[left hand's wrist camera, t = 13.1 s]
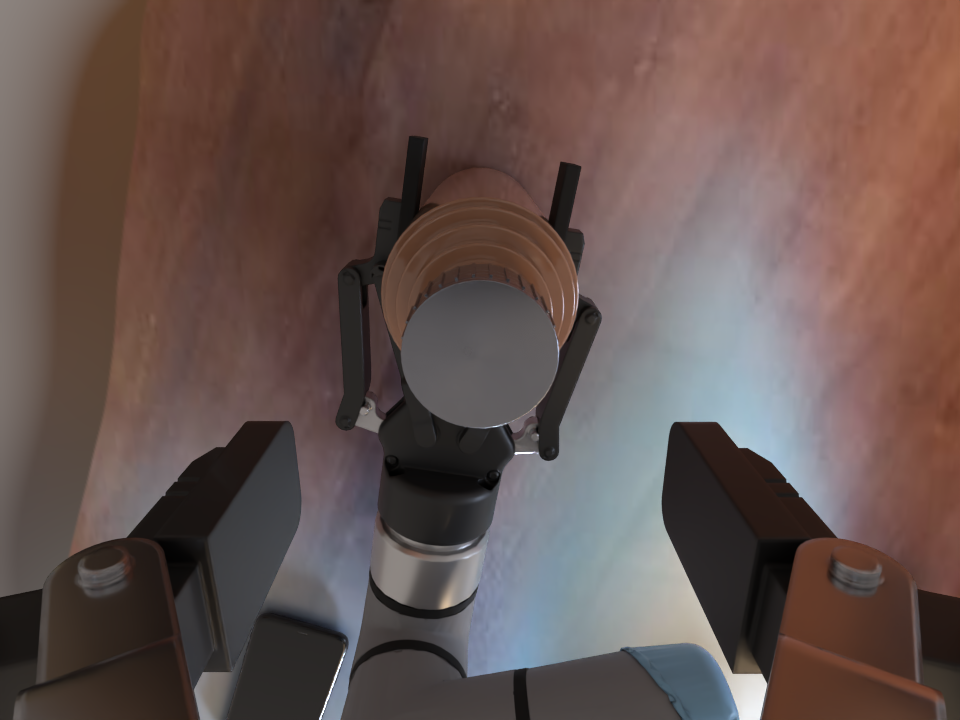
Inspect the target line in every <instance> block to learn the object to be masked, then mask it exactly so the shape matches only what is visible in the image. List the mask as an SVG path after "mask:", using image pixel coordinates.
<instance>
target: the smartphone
mask: <svg viewBox="0 0 960 720" xmlns="http://www.w3.org/2000/svg"><path fill="white" fill-rule="evenodd" d="M250 637H251V638H250V641H249V643H248V646H247V650H246V654H245V656H244V660H243V665H242V668H241V672H240V675H239V678H238V682H237V685H236V689H235V692H234V695H233V699H232V702H231V706H230V709H229V712H228V716H227V719H226V720H322V717H323V714H324V711H325V709H326V706H327V703H328V701H329V698H330V695H331V692H332V690H333V687H334V684H335V683H336V680H337V677H338V675H339V672H340V668H341V665H342V663H343V660H344V657H345V654H346V652H347V649H348V645H349V642H348V638H347V637H346V636H345V635H344V634H343V633H340V632H337V631H334V630H330V629H327V628H323V627H320V626H316V625H312V624H309V623H305V622H301V621H298V620H294V619H290V618H287V617H283V616H279V615H276V614H272V613H264V614H262V615H260V616H259V617H258V618H257V619H256V621H255V624H254V627H253V631H252V633H251V636H250Z"/></svg>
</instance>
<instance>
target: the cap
mask: <svg viewBox="0 0 960 720" xmlns="http://www.w3.org/2000/svg"><path fill="white" fill-rule="evenodd" d="M405 323H406V326H405V329H404V331H403V334H402V337H401V339H402V345H401V363H402V368H403V373H404V376H405V379H406V381H407V383H408V385H409V387H410V389H411V391H412V392H413V394H414V395H415V397H416V398H417V399H418V400H419V402H420V403H421V404H422V405H423V406H424V407H425V408H427V409H428V410H429V411H430V412H431V413H433V414H434V415H436V416H437V417H439V418H441V419H443V420H445V421H447V422H450V423H453V424H455V425H459V426H463V427H470V428H490V427H497V426H501V425H505V424H507V423H510V422H513V421H515V420H517V419H519V418H521V417H523V416H524V415H525V414H527V413H528V412H530V411H531V410H532V409H533V408H534V407H536V406H537V405H538V404H539V403H540V401H541V400H542V399H543V398H544V397H545V395H546V394H547V392H548V391H549V389H550V387H551V385H552V383H553V381H554V378H555V375H556V372H557V368H558V362H559V347H558V344H559V340H558V337H557V334H556V332H555V329H554V328H556V326H555V323H554V320H553V318H552V315H551V313H550V310H548V308H547V305H546V302H545V300H544V297H543V296H540V294H539V293H538V292H537V291H536V289H535V286H534V284H533V283H532V284H530V283H529V282H528V281H527V280H526V279H524V278H523V277H522V274H519V275H518V274H517V273H515V272H513V271H511V270H509V269H508V268H507V267H500V266H496V265H492V263H489V264H475V262H473V263H472V264H469V265H463V266H460V267H459V265H458V266H456V268H454V269H451V270H449V271H447V272H444V271H443V272H442V273H441V275H440V276H438V277H437V278H436V279H434V280H433V281H429V283H428V286H427V287H426V288H425V289H424V290H423V292H422V293H420V292H419V294H418V296H417V299H416V302H415V304H414V306H412V307H411V310H410V312H409V315H408V317H407V320H406V322H405Z"/></svg>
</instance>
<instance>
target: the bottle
mask: <svg viewBox="0 0 960 720" xmlns="http://www.w3.org/2000/svg"><path fill="white" fill-rule="evenodd" d="M473 262H475V264H489V263H492V265H496V266H500V267H507V268H508V269H509V270H511V271H513V272H515V273H517V274H518V275H519V274H522V277H523V278H524V279H526V280H527V281H528V282H529V283H530V284H532V283H533V284H534V286H535V289H536V291H537V292H538V293H539V294H540V296H543V297H544V300H545V302H546V305H547V308H548V310H550V313H551V315H552V318H553V320H554V323H555V326H556V328H554V329H555V332H556V334H557V337H558V340H559V344H558V347H559V350H560V349H561V347H562V346H563V344H564V343H565V341H566V340H567V338H568V336H569V334H570V332H571V329H572V327H573V324H574V321H575V318H576V313H577V308H578V299H579V287H578V278H577V273H576V269H575V265H574V262H573V260H572V257H571V254H570V252H569V251H568V249H567V247H566V245H565V243H564V242H563V240H562V239H561V238H560V236H559V235H558V233H557V232H556V231H555V229H554V228H553V227H552V225H551V224H550V223H549V221H548V220H547V219H546V217H545V216H544V215H543V213H542V212H541V211H540V209H539V208H538V207H537V205H536V204H535V203H534V201H533V200H532V199H531V197H530V196H529V195H528V193H527V192H526V190H525V189H524V188H523V187H522V186H521V185H520V184H519V183H518V182H517V181H516V180H515V179H513V178H512V177H511V176H509V175H507V174H506V173H503V172H501V171H499V170H495V169H491V168H484V167H477V168H469V169H465V170H462V171H459V172H457V173H454V174H453V175H451V176H449V177H448V178H446V179H445V180H444V181H443V182H442V183H441V184H440V185H439V186H438V187H437V188H436V189H435V190H434V192H433V193H432V194H431V196H430V197H429V198H428V200H427V201H426V202H425V204H424V205H423V206H422V208H421V209H420V210H419V212H418V213H417V214H416V216H415V217H414V218H413V220H412V221H411V222H410V224H409V225H408V226H407V228H406V229H405V230H404V232H403V233H402V235H401V236H400V237H399V239H398V240H397V242H396V243H395V245H394V247H393V248H392V250H391V252H390V254H389V257H388V259H387V262H386V265H385V268H384V273H383V277H382V286H381V300H382V309H383V314H384V318H385V321H386V324H387V327H388V330H389V332H390V334H391V336H392V338H393V340H394V341H395V343H396V344H397V346H398V347H399V349H400V350H401V345H402V339H401V337H402V334H403V331H404V329H405V326H406V323H405V322H406V320H407V317H408V315H409V312H410V310H411V307H412V306H414V304H415V302H416V299H417V296H418V294H419V292H420V293H422V292H423V290H424V289H425V288H426V287H427V286H428V283H429V281H433V280H434V279H436V278H437V277H438V276H440V275H441V273H442V272H443V271H444V272H447V271H449V270H451V269H454V268H456V266H458V265H459V267H460V266H463V265H469V264H472V263H473Z"/></svg>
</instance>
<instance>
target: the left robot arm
mask: <svg viewBox="0 0 960 720" xmlns="http://www.w3.org/2000/svg"><path fill="white" fill-rule="evenodd" d="M300 514H301V489H300V481H299V472H298V464H297V455H296V446H295V438H294V431H293V428H292V425H291V423H290V422H288V421H247V422H246V423H245V424H244V425H243V426H242V427H241V428H240V430H239V431H238V432H237V433H236V435H235V436H234V437H233V438H232V440H231V441H230V442H229V443H228V445H227V446H226V447H216V448H214V449H213V450H211V451H209V452H208V453H206V454H204V455H203V456H201V457H199V458H198V459H196V460H194V461H193V462H192V463H191V464H190V465H189V466H188V467H187V468H186V470H185V471H184V472H183V473H182V474H181V475H180V477H179V478H178V482H174V483H173V485H172V486H171V487H170V488H169V489H168V490H167V492H166V495H165V496H162V497H161V499H160V500H159V501H158V502H157V503H156V504H155V505H154V507H153V508H152V509H151V510H150V511H149V512H148V514H147V515H146V516H145V517H144V518H143V519H142V520H141V522H140V523H139V524H138V525H137V526H136V527H135V529H134V530H133V531H132V532H131V533H130V534H129V535H128V537H127V538H122V539H115V540H111V541H107V542H103V543H100V544H97V545H94V546H91V547H89V548H86V549H84V550H82V551H80V552H78V553H76V554H74V555H73V556H71V557H69V558H68V559H66V560H65V561H64V562H62V563H61V564H60V565H58V566H57V567H56V568H55V569H54V570H53V571H52V572H51V573H50V575H49V576H48V577H47V579H46V581H45V583H44V586H43V589H39V590H35V591H30V592H25V593H20V594H15V595H10V596H5V597H1V598H0V720H200V717H199V713H198V708H197V703H196V698H195V694H194V688H195V686H196V684H197V682H198V680H199V678H200V676H201V674H202V672H232V670H233V668H234V666H235V664H236V661H237V659H238V657H239V655H240V653H241V650H242V648H243V646H244V644H245V642H246V640H247V637H248V635H249V633H250V631H251V629H252V626H253V624H254V622H255V620H256V618H257V616H258V613H259V611H260V609H261V607H262V605H263V602H264V600H265V598H266V596H267V594H268V592H269V589H270V587H271V585H272V583H273V581H274V578H275V576H276V574H277V572H278V570H279V567H280V565H281V563H282V561H283V559H284V557H285V554H286V552H287V550H288V548H289V546H290V543H291V541H292V539H293V537H294V535H295V533H296V530H297V528H298V524H299V520H300ZM662 514H663V520H664V525H665V528H666V531H667V533H668V535H669V537H670V539H671V542H672V544H673V546H674V548H675V550H676V552H677V555H678V557H679V559H680V561H681V563H682V565H683V567H684V570H685V572H686V574H687V576H688V578H689V580H690V583H691V585H692V587H693V589H694V591H695V593H696V595H697V598H698V600H699V602H700V604H701V606H702V608H703V610H704V613H705V615H706V617H707V619H708V621H709V623H710V626H711V628H712V630H713V632H714V634H715V636H716V638H717V641H718V643H719V645H720V647H721V649H722V651H723V654H724V656H725V658H726V660H727V662H728V664H729V666H730V669H731V671H732V673H733V674H763V676H764V678H765V680H766V682H767V689H766V694H765V698H764V703H763V708H762V713H761V717H760V720H960V598H957V597H952V596H947V595H942V594H937V593H932V592H928V591H923V590H919V589H917V586H916V583H915V581H914V579H913V577H912V576H911V575H910V573H909V572H908V571H907V570H906V569H905V568H904V567H903V566H902V565H900V564H899V563H898V562H896V561H895V560H894V559H892V558H891V557H889V556H887V555H886V554H884V553H882V552H880V551H878V550H876V549H874V548H871V547H869V546H866V545H863V544H860V543H857V542H853V541H849V540H845V539H838V538H837V537H836V536H835V535H834V533H833V532H832V531H831V530H830V529H829V528H828V527H827V525H826V524H825V523H824V522H823V521H822V520H821V519H820V517H819V516H818V515H817V514H816V513H815V512H814V511H813V509H812V508H811V507H810V506H809V505H808V504H807V503H806V501H805V500H804V499H803V498H802V497H799V493H798V492H797V491H796V490H795V489H794V488H793V487H792V485H791V484H790V483H787V482H786V479H785V477H784V476H783V475H782V474H781V473H780V472H779V471H778V469H777V468H776V467H775V466H774V465H773V464H772V463H771V462H770V461H768V460H766V459H765V458H763V457H761V456H760V455H758V454H756V453H755V452H753V451H751V450H750V449H748V448H738V447H737V446H736V444H735V443H734V442H733V441H732V440H731V438H730V437H729V436H728V435H727V433H726V432H725V431H724V430H723V428H722V427H721V426H720V425H719V424H718V423H717V422H674V423H673V425H672V427H671V429H670V434H669V441H668V449H667V458H666V466H665V475H664V483H663V491H662Z"/></svg>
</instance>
